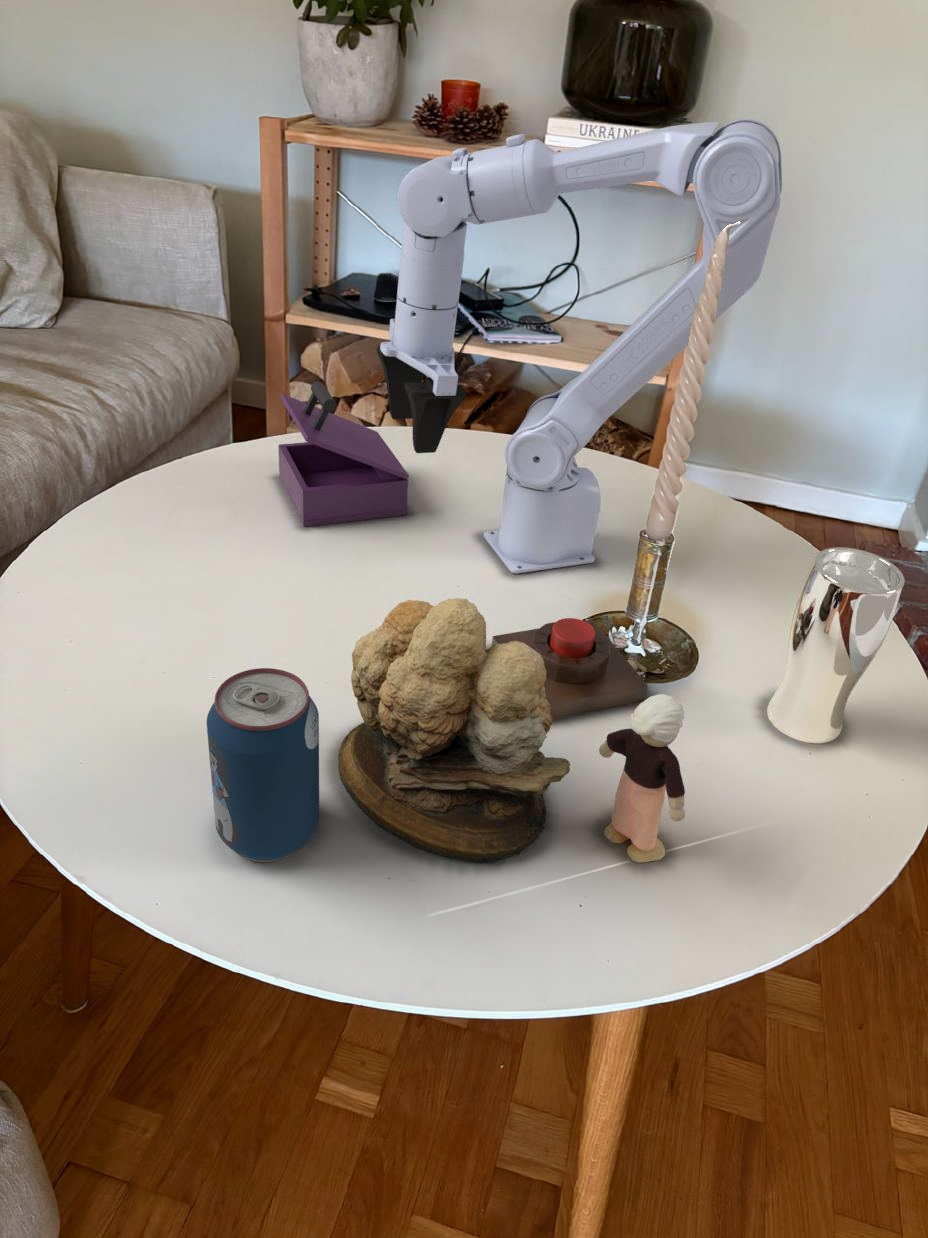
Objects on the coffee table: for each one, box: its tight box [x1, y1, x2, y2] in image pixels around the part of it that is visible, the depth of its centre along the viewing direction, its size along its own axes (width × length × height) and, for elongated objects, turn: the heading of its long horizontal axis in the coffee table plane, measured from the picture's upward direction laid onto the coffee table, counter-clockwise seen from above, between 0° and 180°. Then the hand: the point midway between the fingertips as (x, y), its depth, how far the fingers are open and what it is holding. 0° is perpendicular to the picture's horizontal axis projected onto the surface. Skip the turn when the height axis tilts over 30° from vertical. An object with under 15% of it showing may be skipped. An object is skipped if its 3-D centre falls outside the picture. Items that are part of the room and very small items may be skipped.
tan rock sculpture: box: [337, 597, 571, 862], centre depth 66 cm, size 18×12×17 cm, turn 55°
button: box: [550, 617, 595, 659], centre depth 81 cm, size 4×4×2 cm
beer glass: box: [766, 546, 905, 745], centre depth 76 cm, size 7×7×15 cm
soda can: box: [206, 667, 320, 863], centre depth 62 cm, size 7×7×12 cm
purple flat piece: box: [279, 380, 410, 480], centre depth 102 cm, size 12×11×4 cm
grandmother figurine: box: [598, 693, 686, 864], centre depth 65 cm, size 8×4×13 cm, turn 48°
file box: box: [277, 441, 409, 527], centre depth 105 cm, size 11×11×4 cm
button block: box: [491, 619, 649, 720], centre depth 82 cm, size 10×10×4 cm
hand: (412, 433), depth 97 cm, fingers open, 7 cm apart
